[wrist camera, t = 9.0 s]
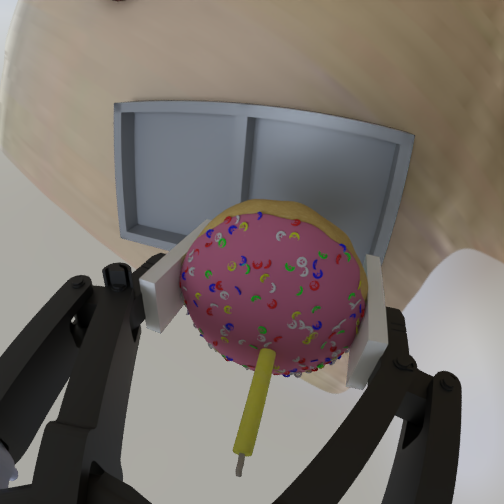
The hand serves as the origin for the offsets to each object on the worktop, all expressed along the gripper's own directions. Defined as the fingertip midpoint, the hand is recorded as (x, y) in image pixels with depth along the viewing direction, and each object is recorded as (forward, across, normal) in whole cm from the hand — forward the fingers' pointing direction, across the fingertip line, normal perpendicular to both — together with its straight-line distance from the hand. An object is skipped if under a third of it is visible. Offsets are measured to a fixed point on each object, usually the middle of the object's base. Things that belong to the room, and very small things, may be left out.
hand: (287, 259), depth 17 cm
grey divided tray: (+12, +6, 0) cm, 14 cm away
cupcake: (+1, 0, 0) cm, 1 cm away
